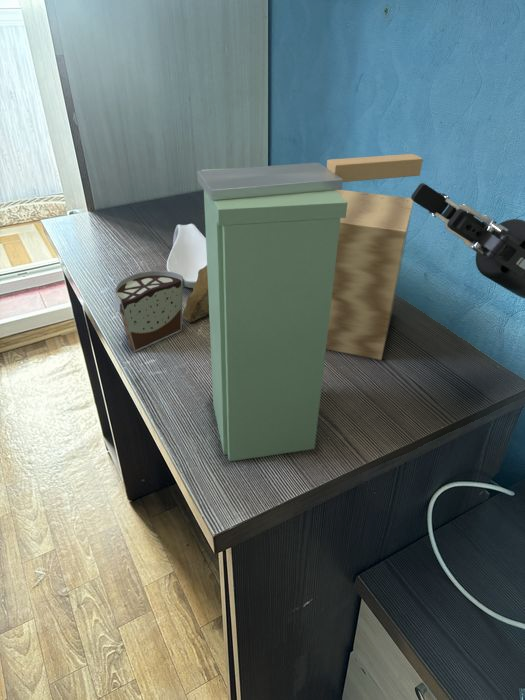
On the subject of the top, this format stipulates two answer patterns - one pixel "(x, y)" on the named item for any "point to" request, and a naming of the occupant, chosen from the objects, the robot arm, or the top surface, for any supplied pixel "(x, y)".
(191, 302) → the rock
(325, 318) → the tall green cabinet
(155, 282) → the mint chocolate cake slice
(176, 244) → the spoon rest
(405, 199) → the block
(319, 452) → the top surface
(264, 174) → the knife
